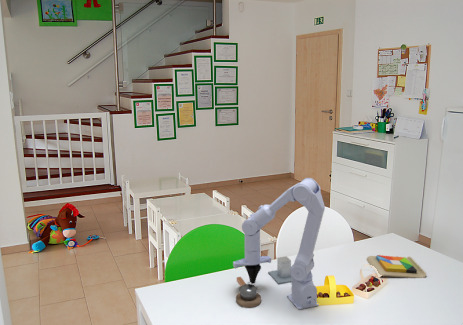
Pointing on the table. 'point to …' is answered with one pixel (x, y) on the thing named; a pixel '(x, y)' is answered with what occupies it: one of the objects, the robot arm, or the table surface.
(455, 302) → the table surface
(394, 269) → the wooden puzzle
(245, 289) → the small saucepan
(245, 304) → the base
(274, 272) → the mat
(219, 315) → the table surface
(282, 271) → the translucent grey block
